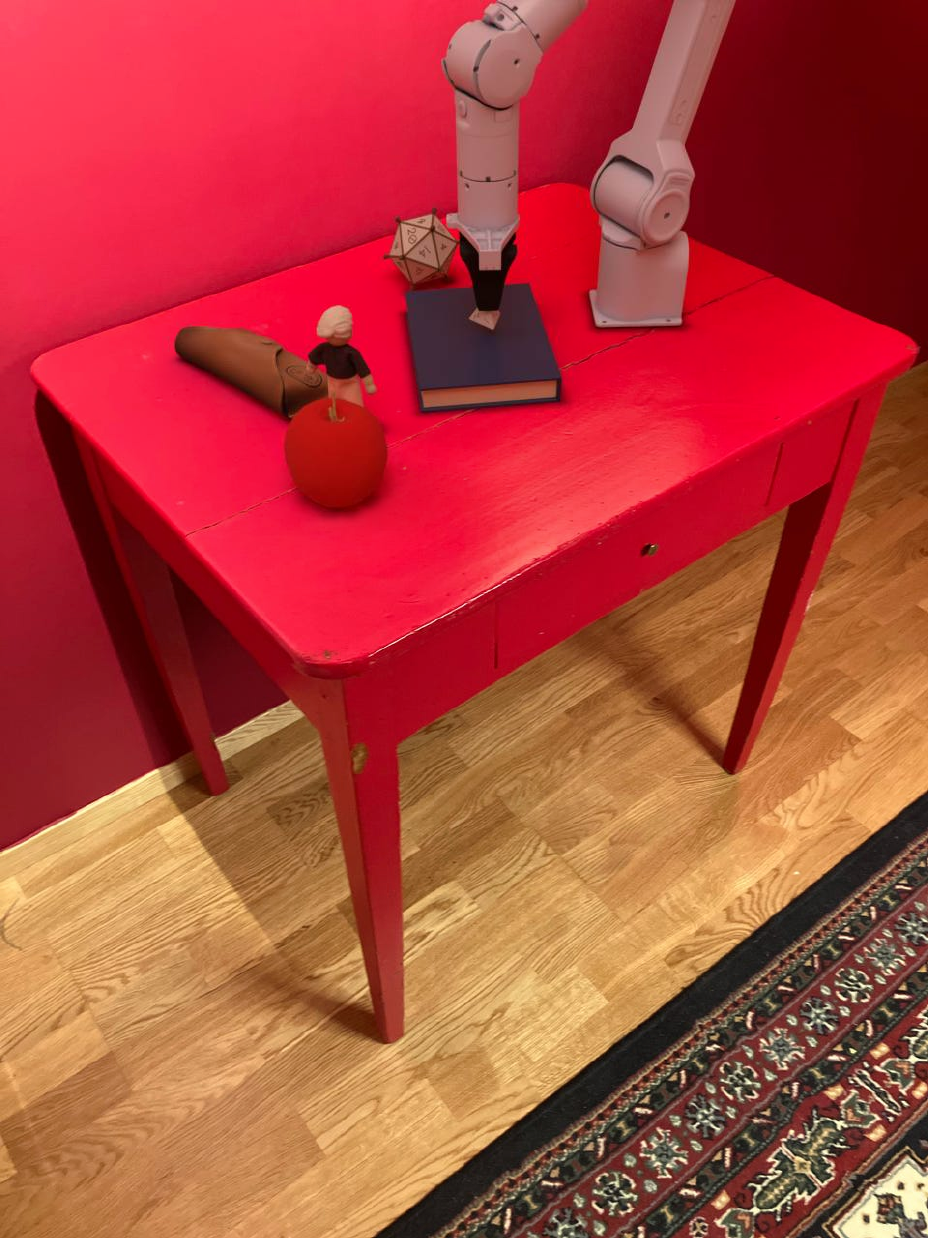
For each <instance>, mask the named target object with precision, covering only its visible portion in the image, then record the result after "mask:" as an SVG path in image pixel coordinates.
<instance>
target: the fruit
mask: <svg viewBox="0 0 928 1238" xmlns="http://www.w3.org/2000/svg"><path fill="white" fill-rule="evenodd" d="M331 395H332V398H325V399H320V400H317V401H314V402H312V403H310V404H308V405H306V406H304V407H303V408H302V409H301V410H300V411H299V412H298V413H297V414H296V415H295V416H294V417H293V418H292V419H291V420H290V423H289V425H288V427H287V429H286V432H285V436H284V442H283V451H284V459H285V463H286V466H287V469H288V472H289V475H290V477H291V479H292V481H293V483H294V485H295V486H296V487H297V489H298V490H299V491H300V492H301V493H302V495H304V496H305V497H307V498H308V499H310V500H311V501H313V502H314V503H316V504H318V505H320V506H321V507H325V508H347V507H350V506H354V505H357V504H359V503H361V502H363V501H365V500H366V499H368V498H369V497H370V496H371V495H372V494H373V493H374V492H375V491H376V489H377V488H378V486H379V484H380V482H381V480H382V478H383V476H384V473H385V470H386V466H387V461H388V456H389V454H388V453H389V452H388V444H387V440H386V436H385V433H384V430H383V428H382V425H381V424H380V422H379V420H378V418H377V417H376V416H375V414H373V413H372V412H371V411H370V410H368V408H366V407H365V406H364V407H362V406H360V405H358V404H355V403H352V402H349V401H346V400H342V399H336V398H335V391H333V390H331Z"/></svg>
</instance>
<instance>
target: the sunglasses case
mask: <svg viewBox="0 0 928 1238" xmlns="http://www.w3.org/2000/svg"><path fill="white" fill-rule="evenodd" d="M173 343H174V345H173V346H174V352H175V353H176V354H177V356H179V357H180V358H181V359H184V360H186V361H187V362H189V363H192V364H194V365H195V366H198V367H200V368H201V369H203V370H205V371H208V372H210V373H213V374H214V375H215V376H217V377H218V378H220V379H222V380H224V381H225V382H227V383H229V384H230V385H232V386H234V387H236V388H237V389H239V390H240V391H243V392H244V393H245V394H248V395H249V396H251V397H253V398H254V399H256V400H258V401H260V402H261V403H262V404H264V405H265V406H267V407H269V408H271V409H273V411H276V412H277V413H279V414H282V415H284V416H285V417H287V418H288V419H291V420H292V418H293V417H294V416H295V415H296V414H297V413H298V412H299V411H300V410H301V409H302V408H303V407H304V406H306V405H308V404H310V403H312V402H314V401H317V400H320V399H325V398H329V393H328V376H327V373H326V372H324V371H322V370H321V369H319V368H318V367H317V371H316V372H315V373H314V374H310V373H308V372H307V370H306V366H307V364H308V361H306V360H304V359H303V358H301V357H299V356H298V355H296V354H294V353H292V352H290V351H289V350H287V349H286V348H284V346H283V345H282V344H281V343H279V342H277V341H275V340H274V339H272V338H270V337H267V336H264V335H260V334H257V333H256V332H253V331H252V330H251V331H250V330H249V329H246V328H244V327H236V328H227V327H226V328H224V327H216V326H205V325H204V326H203V325H192V326H191V325H190V326H189V325H188V326H187V325H186V326H184V327H181V328H180V329H179V330H178V332H177V333H176V336H175V338H174V342H173Z"/></svg>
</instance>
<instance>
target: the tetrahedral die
mask: <svg viewBox="0 0 928 1238" xmlns="http://www.w3.org/2000/svg"><path fill="white" fill-rule="evenodd" d="M499 316H500V312H499V311H478V308H477V309H476V310H475V311H474V312H473V314H472V315H471V316H470V317H469V319H470V320H472V321H474V322H476V323H479V324H481V325H483V326H485V327H488V328H490V329H492V330H493V329H494V327H495V325H496V322H497V320H498V318H499Z"/></svg>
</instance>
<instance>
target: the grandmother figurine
mask: <svg viewBox="0 0 928 1238" xmlns="http://www.w3.org/2000/svg"><path fill="white" fill-rule="evenodd" d="M353 324H354V322H353V315H352V313H351V311H350V309H349V308H347V307H345V306H343V305H333V306H331V307H329V308H328V309H326V310H325V311H324V312H323V313H322V315H321V316H320V319H319V320H318V323H317V327H316V328H315V330H316V334H317V336H318V338H321V339H326V341H324V342H321V343H319V344H317V345H316V346H314V348H313V349H311V351H310V352H309V353H307V358H308V359H307V362H308V364H307V366H306V370H307V372H308V373H310V374H314V373H315V372H316V371H317V368H318V366H324V367H325V374H327V376H328V393H329V398H332V395H331V390H333V391H335V398H336V399H342V400H346V401H349V402H352V403H355V404H358V405H360V406H362V407H364V408H365V406H364V398H363V391H362V385H363V386H364V389H365V393H366V394H367V395H370V396H372V395H375V393H377V390H378V387H377V386H376V384H375V383H374V378H373V375H372V371H371V369H370V367H369V366H368V363H367V362H366V361H365V358H364V357H363V355H362V353H361V351H360V350H359V349H358V348H356V347H354V346H352V345H351V344H349V342H350V341H351V339H352V337H353ZM360 380H361V382H360ZM361 383H362V384H361Z"/></svg>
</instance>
